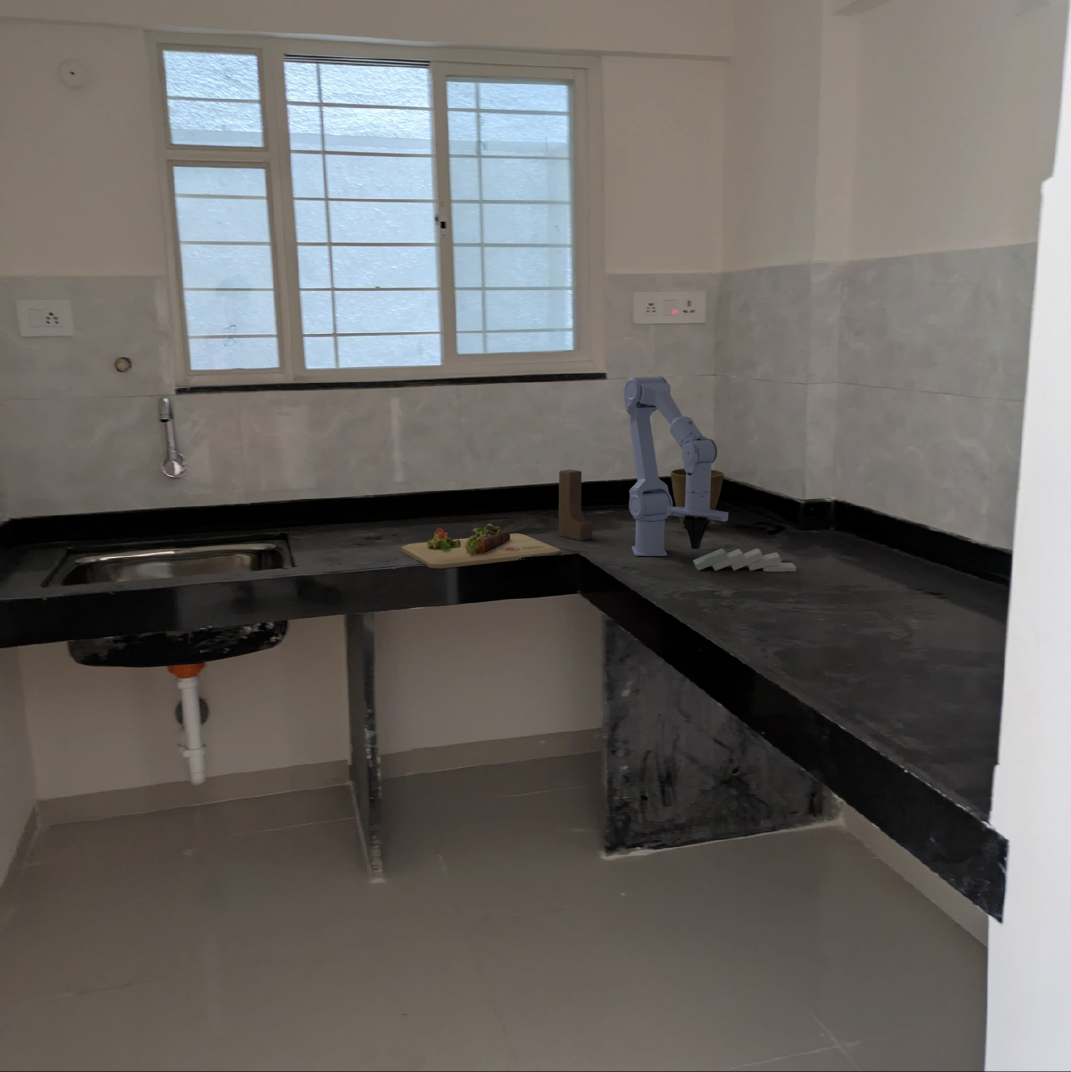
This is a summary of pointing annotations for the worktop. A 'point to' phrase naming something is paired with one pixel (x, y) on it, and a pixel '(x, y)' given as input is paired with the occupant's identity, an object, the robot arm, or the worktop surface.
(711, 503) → the plant pot
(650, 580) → the worktop surface
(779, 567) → the domino
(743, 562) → the domino
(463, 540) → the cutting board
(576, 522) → the wooden block
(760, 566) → the domino
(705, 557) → the domino
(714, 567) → the domino
